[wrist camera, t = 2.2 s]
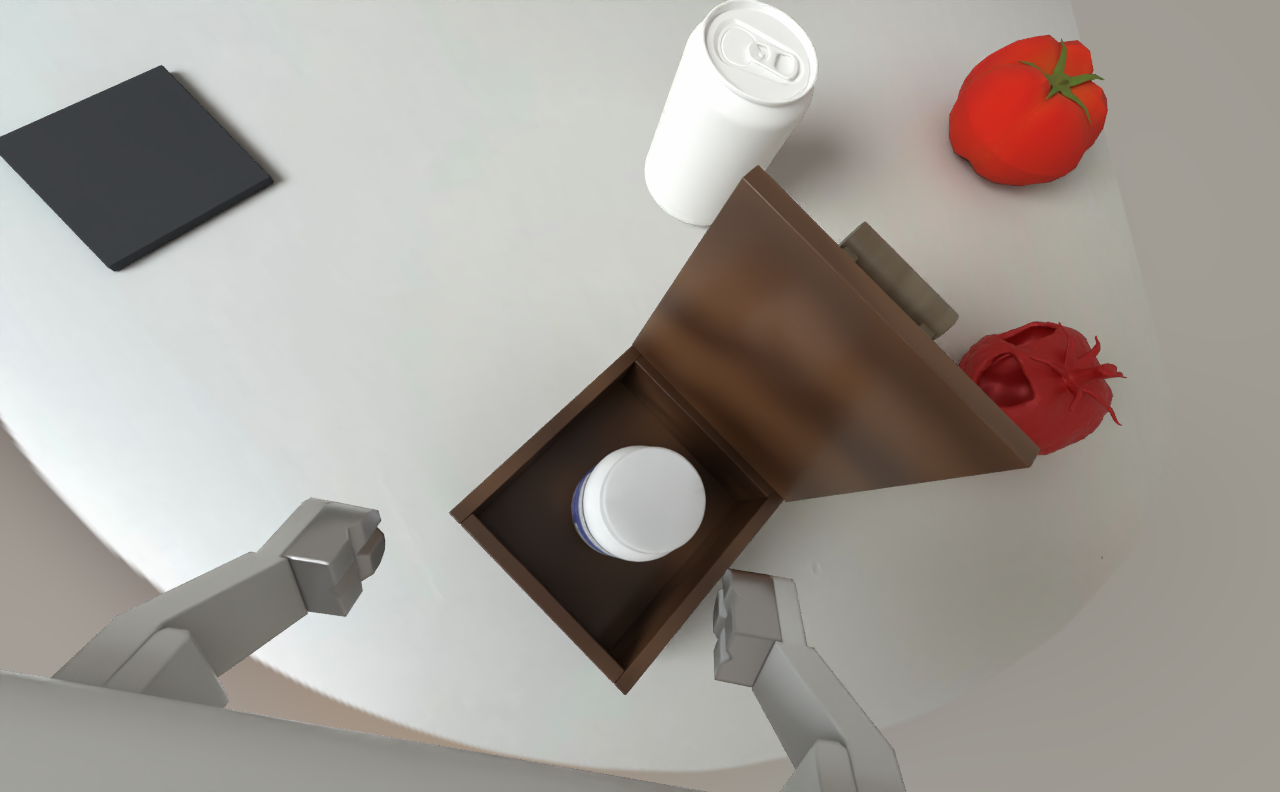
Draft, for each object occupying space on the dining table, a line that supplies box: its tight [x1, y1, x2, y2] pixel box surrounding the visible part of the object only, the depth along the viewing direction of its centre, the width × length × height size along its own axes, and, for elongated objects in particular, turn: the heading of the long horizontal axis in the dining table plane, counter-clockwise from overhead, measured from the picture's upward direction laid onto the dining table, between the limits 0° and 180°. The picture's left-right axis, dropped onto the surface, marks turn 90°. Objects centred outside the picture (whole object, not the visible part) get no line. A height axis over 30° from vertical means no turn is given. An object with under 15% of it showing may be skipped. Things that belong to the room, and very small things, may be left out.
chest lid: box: [632, 165, 1040, 502], centre depth 23 cm, size 14×13×5 cm
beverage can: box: [645, 0, 818, 226], centre depth 34 cm, size 8×8×12 cm
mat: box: [0, 65, 274, 271], centre depth 31 cm, size 10×10×1 cm
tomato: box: [949, 35, 1108, 186], centre depth 45 cm, size 13×12×8 cm
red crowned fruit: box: [959, 322, 1127, 455], centre depth 37 cm, size 10×10×9 cm
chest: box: [450, 345, 784, 695], centre depth 30 cm, size 14×13×5 cm
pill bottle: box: [571, 446, 706, 562], centre depth 27 cm, size 6×6×10 cm
